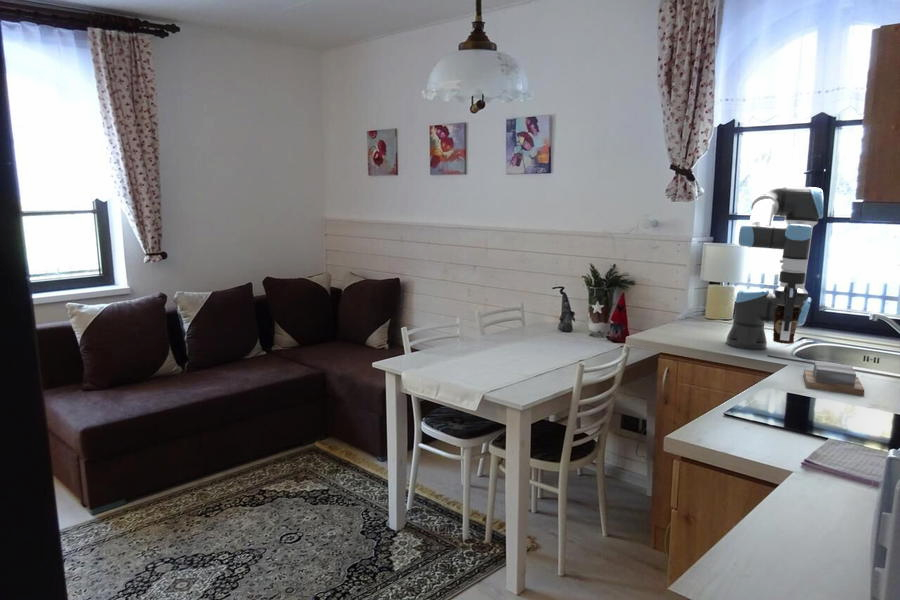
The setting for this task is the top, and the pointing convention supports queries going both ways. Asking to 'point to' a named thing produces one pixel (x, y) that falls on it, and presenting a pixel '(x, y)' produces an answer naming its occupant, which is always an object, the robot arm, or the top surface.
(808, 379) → the stepped plinth
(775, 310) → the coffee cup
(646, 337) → the top surface
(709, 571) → the top surface
